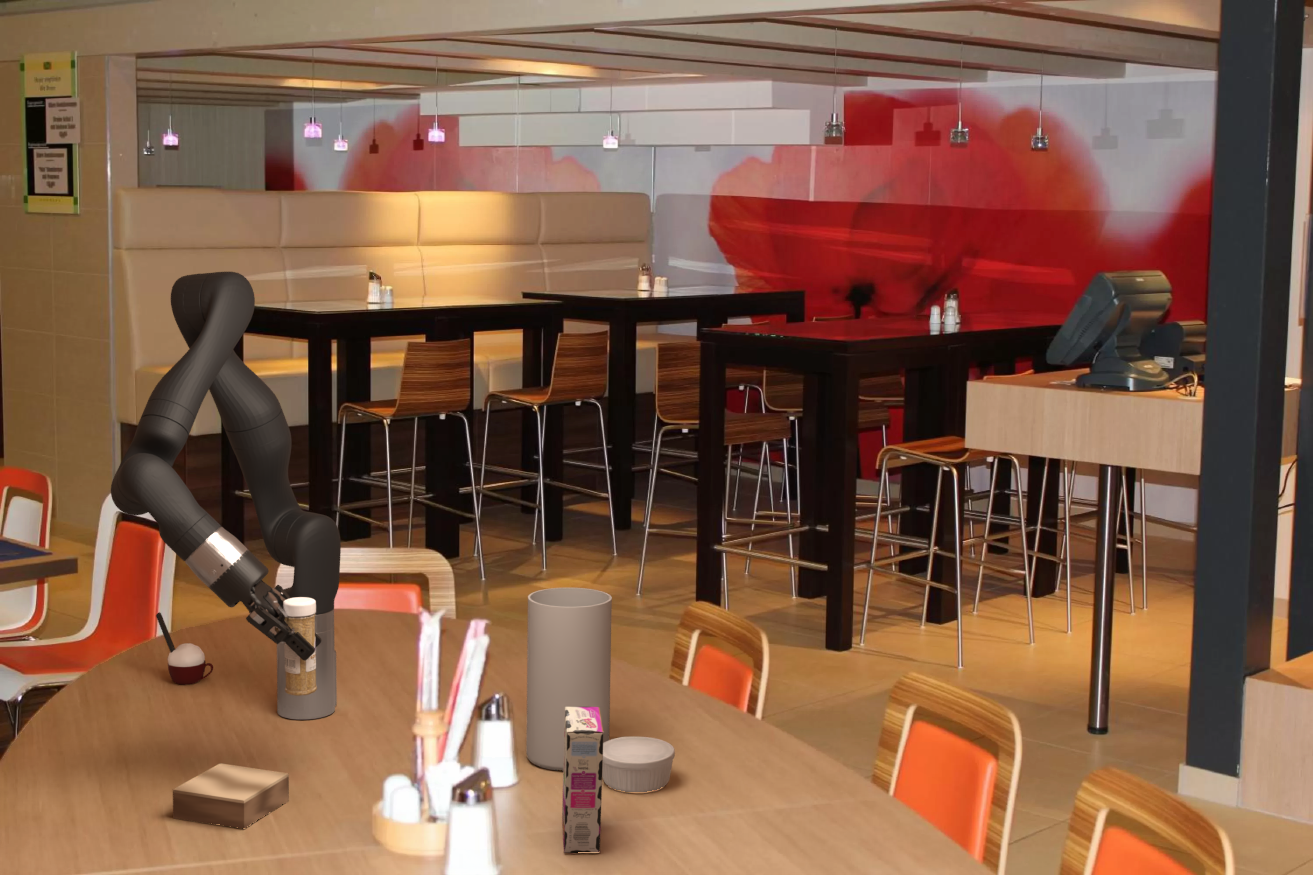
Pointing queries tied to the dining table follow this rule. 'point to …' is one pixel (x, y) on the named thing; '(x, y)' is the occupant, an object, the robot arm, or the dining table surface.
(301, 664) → the spice jar
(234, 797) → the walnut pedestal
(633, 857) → the dining table surface
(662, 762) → the ramekin
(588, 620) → the cylinder vase
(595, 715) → the candy bar box
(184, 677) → the cocoa
